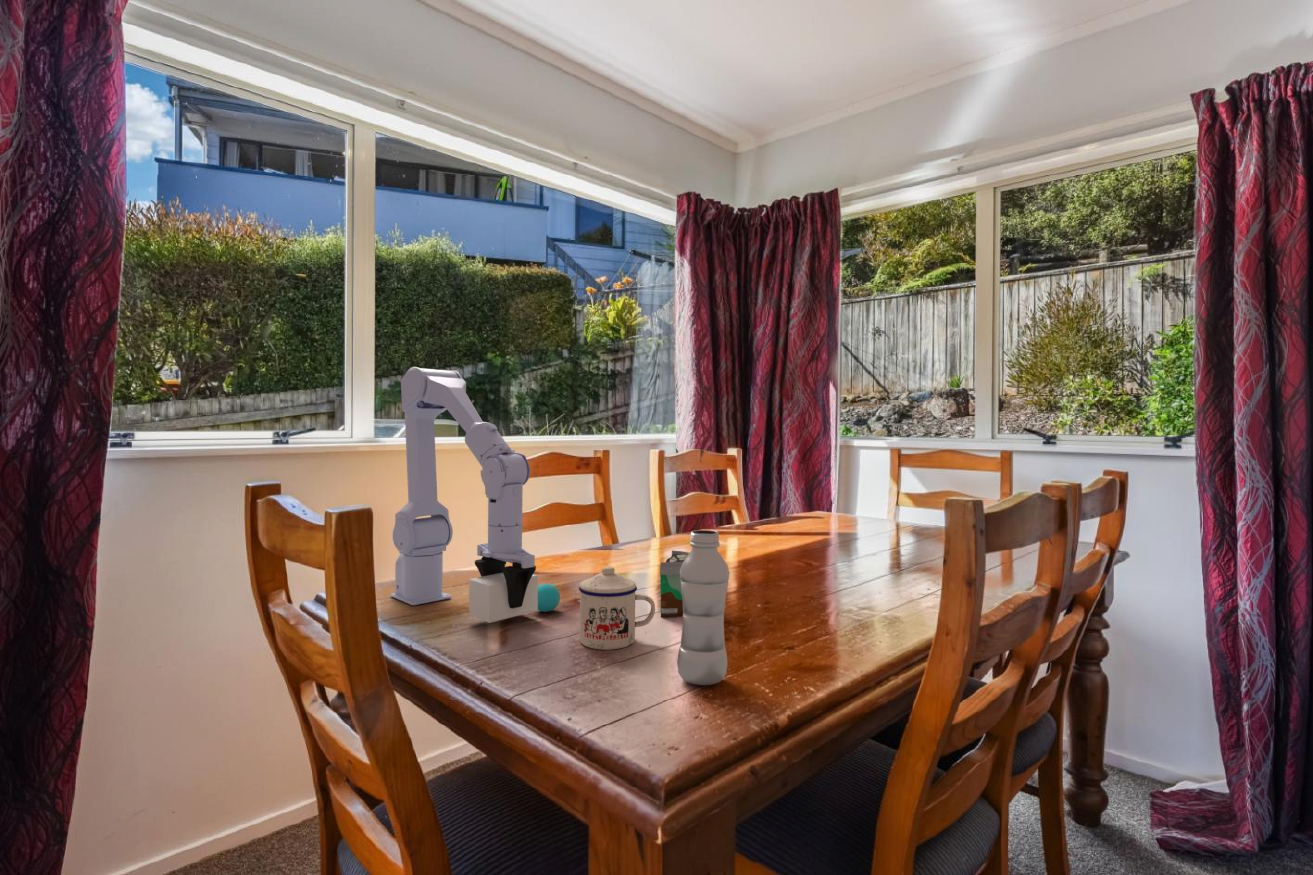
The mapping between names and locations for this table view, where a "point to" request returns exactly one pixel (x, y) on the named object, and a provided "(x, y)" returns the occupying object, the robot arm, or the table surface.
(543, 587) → the ball
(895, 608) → the table surface
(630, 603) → the teacup with lid
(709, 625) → the plastic bottle
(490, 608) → the white block
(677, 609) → the food container
